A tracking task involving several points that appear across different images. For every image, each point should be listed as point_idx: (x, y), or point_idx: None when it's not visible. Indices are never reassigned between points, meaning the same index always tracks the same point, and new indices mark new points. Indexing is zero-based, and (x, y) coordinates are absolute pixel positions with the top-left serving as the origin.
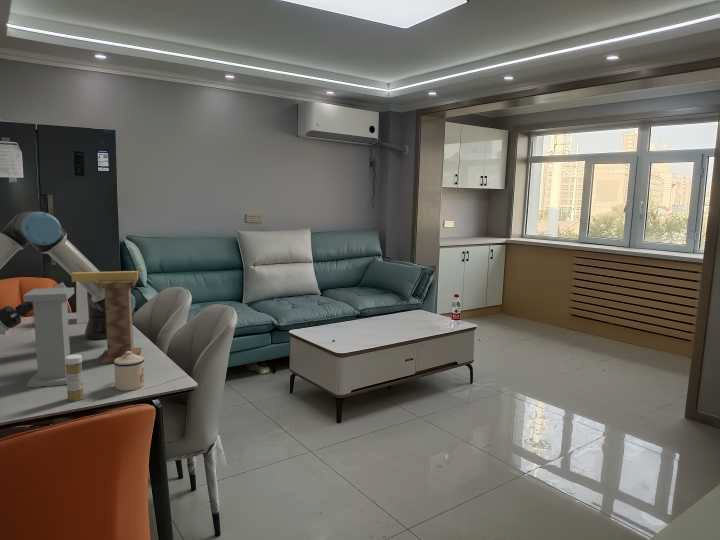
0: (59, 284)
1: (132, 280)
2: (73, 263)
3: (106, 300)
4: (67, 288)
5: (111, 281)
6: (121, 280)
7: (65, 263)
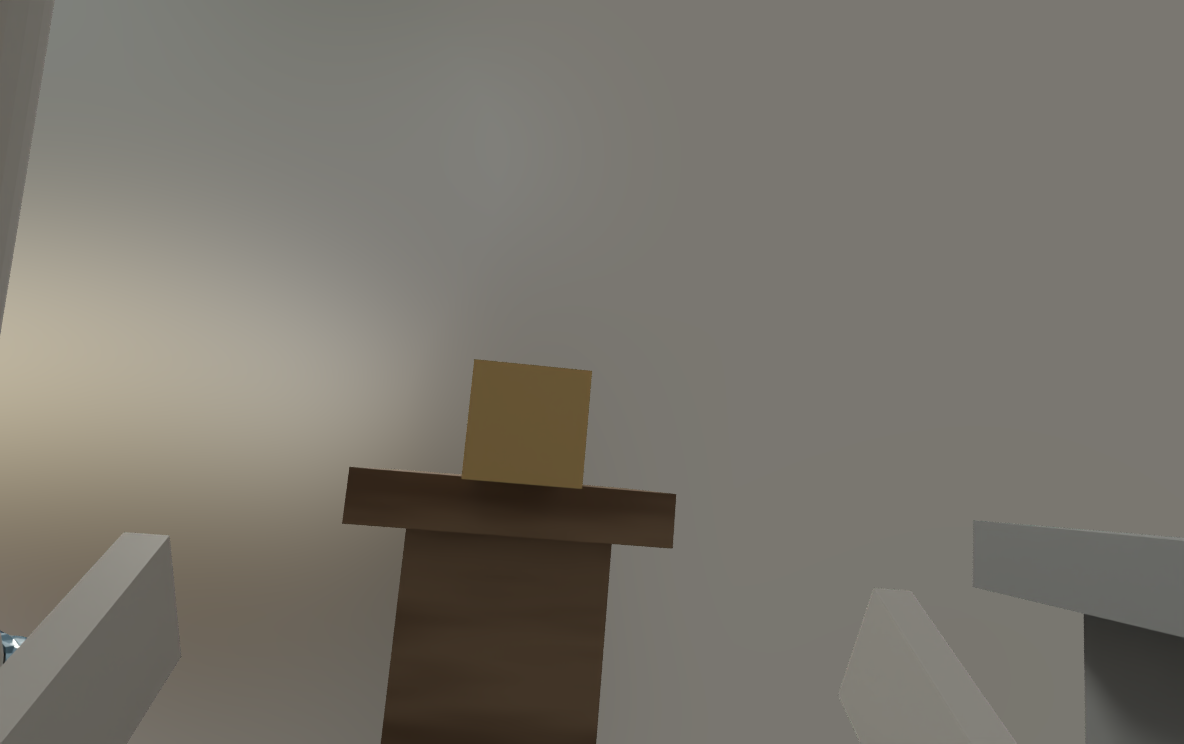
0: (134, 584)
1: None
2: (5, 207)
3: (601, 665)
4: (1063, 528)
5: (592, 486)
6: None
7: None
